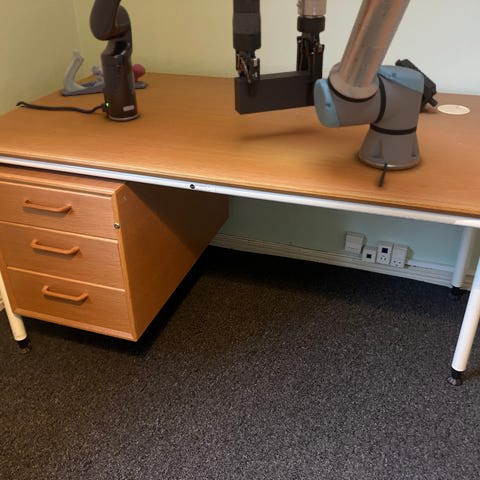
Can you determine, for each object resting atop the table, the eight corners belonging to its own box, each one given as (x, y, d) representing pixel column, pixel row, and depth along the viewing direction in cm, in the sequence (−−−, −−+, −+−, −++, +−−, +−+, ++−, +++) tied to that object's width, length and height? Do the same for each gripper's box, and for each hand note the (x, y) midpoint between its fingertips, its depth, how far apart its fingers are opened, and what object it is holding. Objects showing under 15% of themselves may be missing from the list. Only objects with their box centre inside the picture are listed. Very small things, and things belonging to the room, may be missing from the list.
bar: (313, 100, 156) (315, 68, 152) (320, 105, 152) (322, 73, 147) (234, 109, 150) (234, 77, 146) (240, 115, 146) (239, 81, 141)
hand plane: (62, 90, 197) (53, 48, 189) (145, 82, 205) (140, 41, 197) (62, 96, 191) (54, 53, 184) (148, 87, 199) (143, 45, 191)
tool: (377, 89, 181) (403, 52, 170) (419, 126, 177) (449, 91, 166) (368, 93, 177) (394, 56, 166) (411, 131, 173) (441, 96, 162)
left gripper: (225, 25, 143) (227, 86, 151) (241, 35, 131) (242, 101, 140) (251, 23, 144) (252, 84, 153) (270, 33, 133) (269, 98, 141)
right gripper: (285, 11, 147) (283, 94, 160) (312, 22, 133) (308, 113, 145) (310, 9, 149) (306, 92, 161) (339, 19, 134) (333, 109, 147)
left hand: (247, 92), depth 146 cm, fingers open, 7 cm apart
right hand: (307, 101), depth 153 cm, fingers closed on bar, 5 cm apart
